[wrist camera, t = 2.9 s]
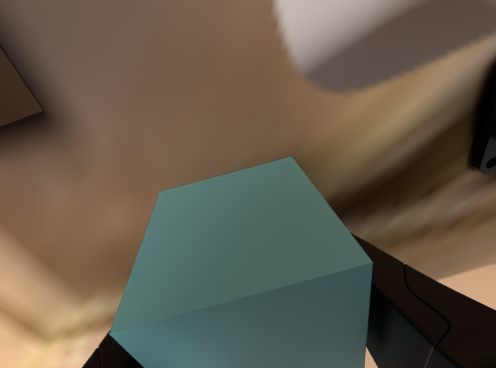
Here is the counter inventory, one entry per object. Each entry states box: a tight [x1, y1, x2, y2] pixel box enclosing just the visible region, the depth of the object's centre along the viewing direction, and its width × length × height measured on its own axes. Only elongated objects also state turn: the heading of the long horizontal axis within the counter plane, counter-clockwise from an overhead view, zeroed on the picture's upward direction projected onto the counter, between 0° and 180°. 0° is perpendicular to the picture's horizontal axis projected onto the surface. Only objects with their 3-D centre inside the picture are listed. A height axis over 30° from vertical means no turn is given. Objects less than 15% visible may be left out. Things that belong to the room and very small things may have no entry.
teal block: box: [109, 156, 373, 368], centre depth 8 cm, size 5×5×5 cm
